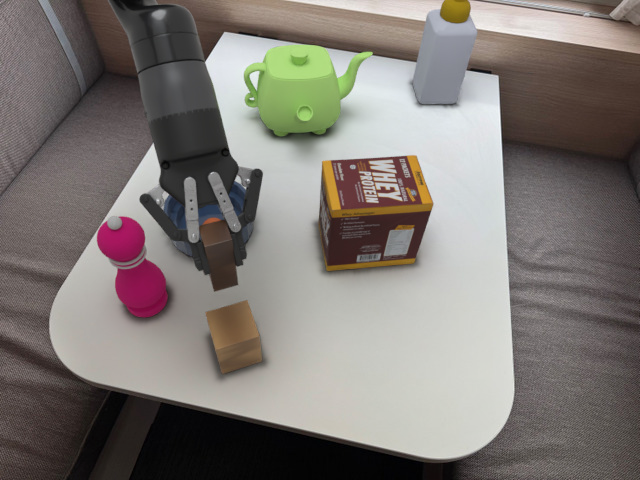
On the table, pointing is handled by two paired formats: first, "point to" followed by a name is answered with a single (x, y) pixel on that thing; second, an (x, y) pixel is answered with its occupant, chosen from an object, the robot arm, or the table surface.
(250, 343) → the light wooden block
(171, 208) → the bowl
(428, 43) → the soap bottle
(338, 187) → the supplement box
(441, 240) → the table surface
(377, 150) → the table surface
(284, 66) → the teapot
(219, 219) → the ball
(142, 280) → the pepper mill
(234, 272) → the tall bronze square pillar
